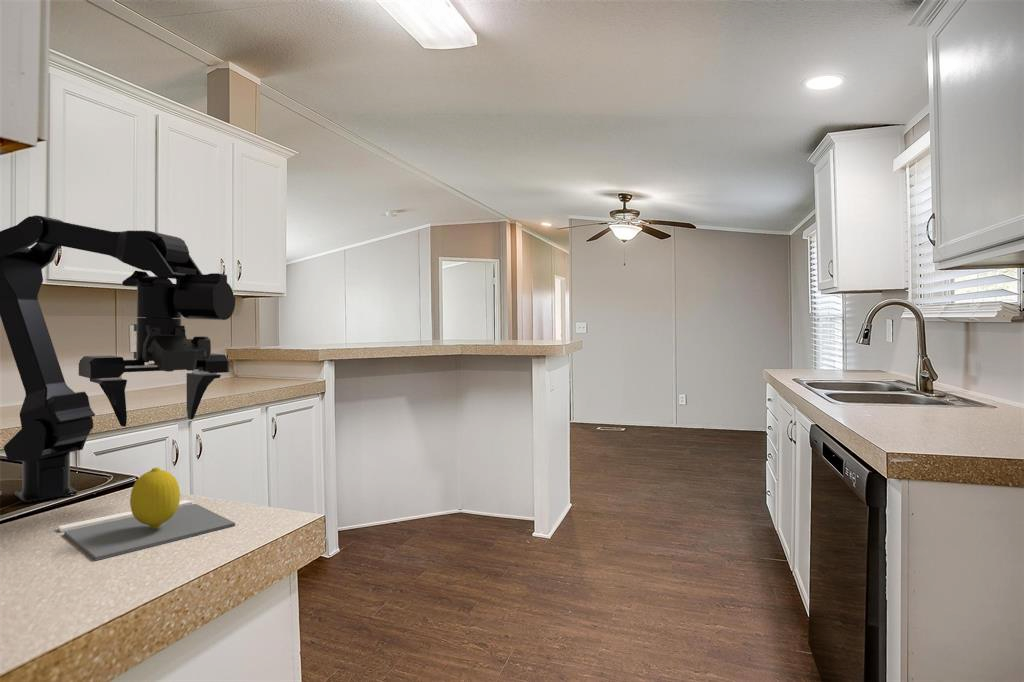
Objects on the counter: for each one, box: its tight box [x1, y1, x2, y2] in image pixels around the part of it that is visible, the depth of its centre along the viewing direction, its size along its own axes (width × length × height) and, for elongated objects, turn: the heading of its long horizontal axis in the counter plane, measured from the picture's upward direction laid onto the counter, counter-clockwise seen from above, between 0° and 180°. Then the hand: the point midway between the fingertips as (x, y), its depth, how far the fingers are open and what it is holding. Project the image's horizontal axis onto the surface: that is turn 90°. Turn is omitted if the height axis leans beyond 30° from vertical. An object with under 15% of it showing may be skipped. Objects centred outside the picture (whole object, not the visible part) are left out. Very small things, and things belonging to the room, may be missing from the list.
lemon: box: [129, 467, 181, 529], centre depth 77 cm, size 6×6×8 cm
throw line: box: [57, 499, 193, 533], centre depth 83 cm, size 2×16×1 cm, turn 141°
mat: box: [63, 503, 236, 561], centre depth 78 cm, size 12×16×1 cm
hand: (158, 422), depth 89 cm, fingers open, 9 cm apart
